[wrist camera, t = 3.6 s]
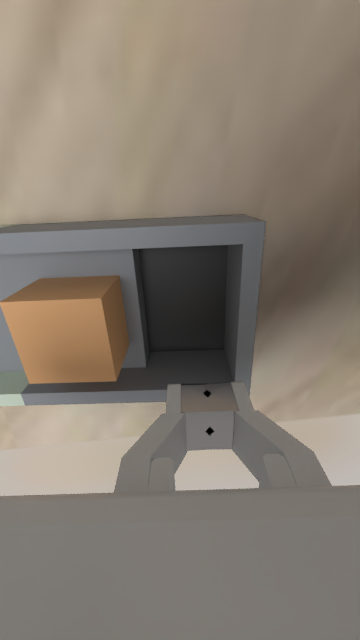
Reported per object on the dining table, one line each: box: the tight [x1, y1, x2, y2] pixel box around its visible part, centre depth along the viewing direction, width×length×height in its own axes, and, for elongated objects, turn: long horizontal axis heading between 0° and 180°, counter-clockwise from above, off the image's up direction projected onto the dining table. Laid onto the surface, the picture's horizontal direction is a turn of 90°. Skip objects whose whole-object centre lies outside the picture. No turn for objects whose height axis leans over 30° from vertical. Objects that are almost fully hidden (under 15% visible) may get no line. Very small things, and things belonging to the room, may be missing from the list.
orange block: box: [0, 275, 129, 384], centre depth 15 cm, size 5×5×4 cm
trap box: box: [0, 214, 266, 406], centre depth 17 cm, size 32×11×5 cm, turn 92°
